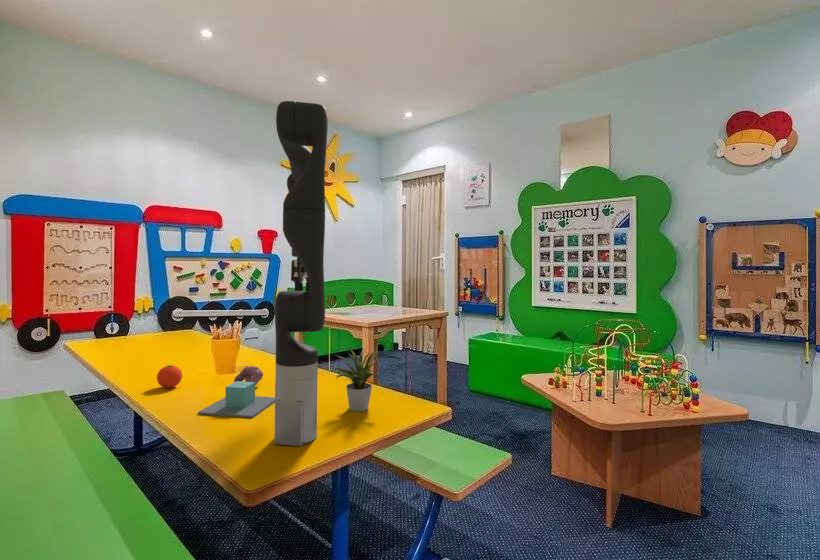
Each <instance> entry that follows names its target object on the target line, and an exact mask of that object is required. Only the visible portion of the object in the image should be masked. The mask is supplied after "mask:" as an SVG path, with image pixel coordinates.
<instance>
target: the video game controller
mask: <svg viewBox="0 0 820 560" xmlns="http://www.w3.org/2000/svg"><path fill="white" fill-rule="evenodd" d="M263 377H264V372H263V371H262V370H261V368H259V367H257V366H255V365H250V366H248V365H246V366H245V367H244V368H243V369H242V370H241V371H240V373H238V374H237V375H236V376H235V378H234V380H233V383H234V382H236V381H241V382H255V386H257V384H259V382H260V381H261V380H262V379H263Z"/></svg>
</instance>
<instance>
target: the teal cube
mask: <svg viewBox="0 0 820 560" xmlns="http://www.w3.org/2000/svg"><path fill="white" fill-rule="evenodd" d="M255 396H256V385H255V382H245V381H242V382H241V381H236V382H234V381H233V382H232V383H230V384H228V385H227V386H225V397H226V403H225V407H232V408H246V407H248V406H249V405H251V404H252V403H254V402H255Z"/></svg>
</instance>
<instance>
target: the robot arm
mask: <svg viewBox="0 0 820 560" xmlns="http://www.w3.org/2000/svg"><path fill="white" fill-rule="evenodd" d="M275 114H276V115H275V125H276V133H277V137H278V140H279V142H280V144H281V147H282V149H283V151H284V153H285V155H286V157H287V160H288V163H289V167H290V174H289V175H288V177H287V179H286V186H287V190H288V193H287V194H286V195H285V198H284V200H283V204H282V232H283V236H284V237H285V239H286V241H287V243H288V245H289V246H290V248H291V257H295V258H296V259H292V260H291V268H290V269H291V270H290V271H291V272H290V280H291V282H293V283H294V290H283V291H279V292H278V293H277V294H276V297H275V299H274V324H275V325H274V326H275V376H274V377H275V381H274V388H275V389H274V392H275V393H274V397H275V403H274V445H283V446H293V447H294V446H295V447H297V446H298V447H302V446H303V445H304V444H308V443H311V442H312V441H314V440H315V439H316V438H317V437H318V434H317V433H318V376H319V374H318V370H319V367H318V366H319V365H318V364H319V352H318V349H317V348H316V347H314V346H311V345H309V344H305V343H303V342H301V341H299V340H297V339H296V338H294V336H292V334H291V333H315V332H320V331H321V330H322V329H323V328H324V326H325V320H326V298H325V297H326V295H325V293H326V291H325V274H324V273H325V272H324V271H325V268H324V260H325V259H324V255H325V251H324V250H325V236H326V235H325V234H326V193H325V192H326V190H325V189H326V188H325V187H326V183H325V182H326V181H325V177H326V162H327V161H326V159H327V158H326V157H327V145H328V127H329V125H328V123H329V122H328V121H329V119H328V113H327V109H326V107H325V106H324V104H321V103H313V102H302V101H294V100H293V101H292V100H284V101H280V102H279V104H278V105H277V109H276V113H275ZM309 147H312V149H311V150H310V148H309ZM304 279H305V290H304Z"/></svg>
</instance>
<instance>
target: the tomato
mask: <svg viewBox="0 0 820 560" xmlns="http://www.w3.org/2000/svg"><path fill="white" fill-rule="evenodd" d="M182 379H183V372H182V370H181V369H180V367H178V366H176V365H173V364H168V365H165V366H164V367H162V368H160V370H159V371H158V372H157V374H156V381H157V384H159V386H160V387H162V388H166V389H170V388H171V389H172V388H174V387H176V386H177V385H179V384H180V383H181V381H182Z"/></svg>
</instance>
